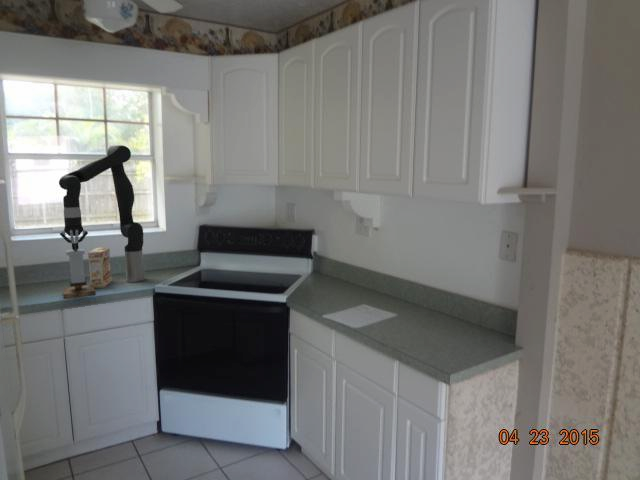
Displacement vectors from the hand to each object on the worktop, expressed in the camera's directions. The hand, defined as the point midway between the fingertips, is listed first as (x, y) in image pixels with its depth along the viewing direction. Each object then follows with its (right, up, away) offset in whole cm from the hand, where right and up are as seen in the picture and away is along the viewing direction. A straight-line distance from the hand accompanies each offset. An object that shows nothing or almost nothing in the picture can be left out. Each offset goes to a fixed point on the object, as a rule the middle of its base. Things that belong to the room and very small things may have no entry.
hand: (75, 250), depth 232 cm
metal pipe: (0, -20, +3) cm, 20 cm away
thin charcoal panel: (0, -17, +3) cm, 18 cm away
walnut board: (0, -22, +4) cm, 22 cm away
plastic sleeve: (0, -16, +3) cm, 16 cm away
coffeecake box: (+3, -19, +21) cm, 29 cm away
